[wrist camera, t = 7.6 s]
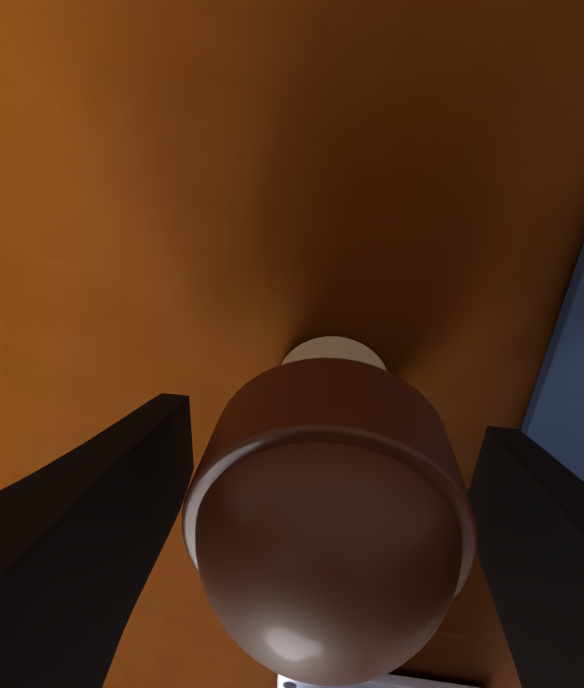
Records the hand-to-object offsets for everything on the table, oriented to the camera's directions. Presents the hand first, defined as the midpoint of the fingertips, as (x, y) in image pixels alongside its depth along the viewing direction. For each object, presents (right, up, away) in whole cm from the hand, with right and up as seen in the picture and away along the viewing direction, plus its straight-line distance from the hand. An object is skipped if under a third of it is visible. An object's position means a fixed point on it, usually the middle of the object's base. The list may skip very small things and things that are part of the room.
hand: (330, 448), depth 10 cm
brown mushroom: (0, +1, +2) cm, 2 cm away
